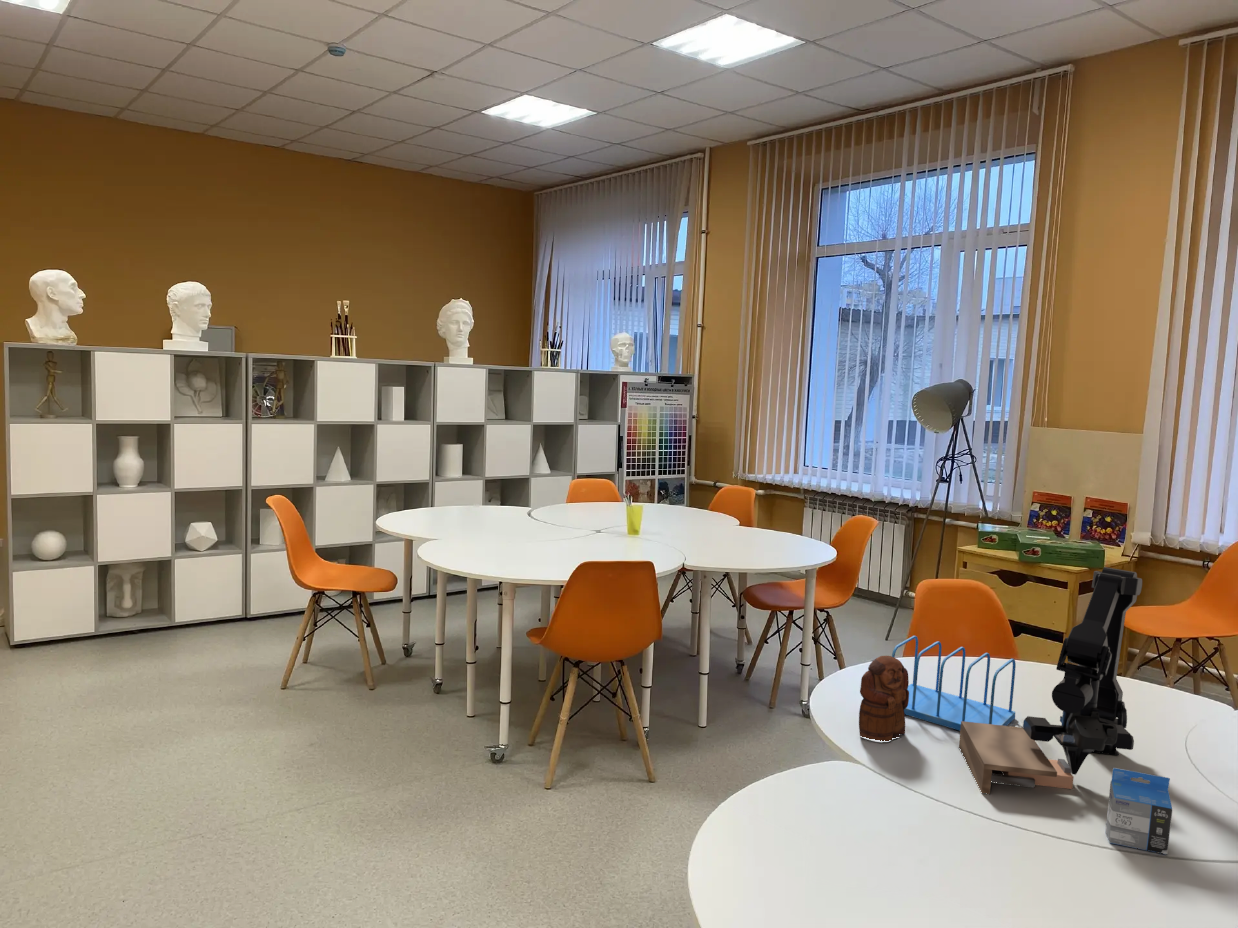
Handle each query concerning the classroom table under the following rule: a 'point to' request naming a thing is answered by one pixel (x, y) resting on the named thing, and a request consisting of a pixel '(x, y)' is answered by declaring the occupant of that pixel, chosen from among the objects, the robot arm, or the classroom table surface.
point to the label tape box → (1139, 811)
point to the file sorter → (953, 707)
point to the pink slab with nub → (1061, 781)
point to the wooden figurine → (883, 699)
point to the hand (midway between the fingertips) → (1073, 773)
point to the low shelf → (1002, 754)
